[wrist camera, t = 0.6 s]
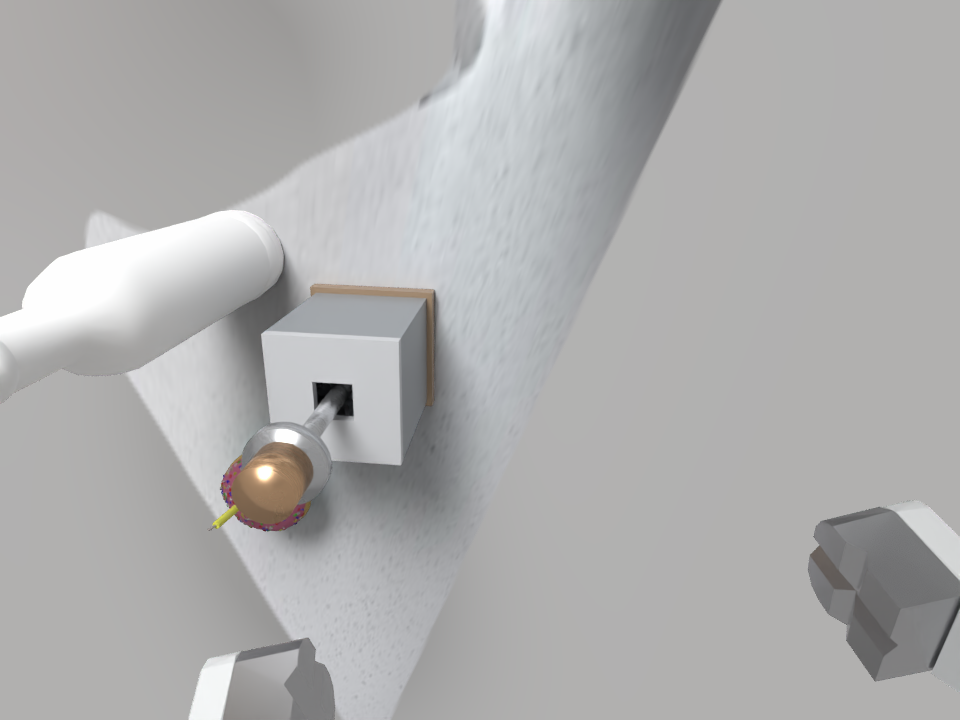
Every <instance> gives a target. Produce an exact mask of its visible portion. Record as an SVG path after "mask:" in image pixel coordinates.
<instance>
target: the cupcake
mask: <svg viewBox="0 0 960 720" xmlns="http://www.w3.org/2000/svg"><path fill="white" fill-rule="evenodd" d="M241 460H242V455H241V456H239V457H238V458H237V459H236V460H235V461H234V462H233V463H232V464H231V465H230V467H229V468H228V470H227V472H226V473H225V475H223V480H222V481H221V482H222V483H221V484H222V485H221V487H222V489H221V487H220V490H223V491H222V492H223V493H222V492H221V493H222V496H223V500H225V503H227V507H229V508H230V509H229V510H228V511H227V512H225V513H224V514H223V515H222V516H221V517H219V518H218V519H217V520H216V521H215V522H214V523H213V526H212V527H211V528H209V529H207V530H208V531H210V530H212V529H213V528H216V529H218V528H219V527H220V526H222V525H223V524H224V523H225V522H226V521H227V520H229V519H230V518H231V517H232V516H233V515H235V516H236V517H237V519H238V520H240V522H243V523H244V525H248V526H249V527H250V526H251V527H250V528H252V527H254V528H257V529H262V530H263V531H281V530H285V529H286V528H288V527H290V526H292V525H294V524H295V523H296V524H297V522H298V521H299V520H300V519H301V518H303V517H304V516H305V515H306V513H307V512H308V510H309V508H310V505H311V501H309V502H307V503H304V504H300V505H296V507H295V509H294V510H293V512H292V513H291V515H290V516H289V517H288V518H287V519H285V520H284V521H282V522H279V523H275V524H262V523H258V522H255V521H253V520H251V519H249V518H247V517H246V516H245V515H243V514H242V513H241V512H240V511H239V510H238V508H237V507H236V505H235V503H234V502H233V499H232V494H231V488H232V483H233V481H234V479H235V478H236V477H237V475H238V474H239V473H240V472H241V471H242V470H243V469H242V461H241Z"/></svg>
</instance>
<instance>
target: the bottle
mask: <svg viewBox="0 0 960 720" xmlns="http://www.w3.org/2000/svg"><path fill="white" fill-rule="evenodd" d="M283 260H284V255H283V251H282V247H281V242H280V240H279V239H278V237H277V235H276V234H275V232H274V230H273V229H272V227H271V226H269V225H268V224H267V223H266V222H265V221H264V220H262V219H261V218H260V217H258V216H256V215H254V214H251V213H249V212H247V211H239V210H228V211H220V212H216V213H213V214H210V215H207V216H204V217H201V218H199V219H195V220H191V221H188V222H184V223H181V224H177V225H173V226H169V227H166V228H162V229H158V230H154V231H151V232H147V233H143V234H140V235H136V236H132V237H129V238H125V239H121V240H117V241H114V242H110V243H106V244H103V245H99V246H95V247H92V248H88V249H84V250H80V251H77V252H74V253H71V254H68V255H65V256H62V257H59V258H57V259H56V260H55V261H54V262H53V263H51V264H50V265H49V266H48V267H47V268H46V269H45V270H44V271H43V272H42V273H41V274H40V275H39V276H38V277H37V278H36V279H35V280H34V281H33V282H32V283H31V284H30V285H29V286H28V288H27V291H26V293H25V296H24V299H23V302H22V310H20V311H17V312H14V313H11V314H8V315H5V316H3V317H0V404H1V403H3V402H4V401H5V400H7V399H8V398H9V397H10V396H11V395H12V394H13V393H15V392H17V391H19V390H21V389H23V388H25V387H27V386H29V385H31V384H33V383H35V382H37V381H38V380H41V379H43V378H45V377H47V376H49V375H50V374H52V373H54V372H56V371H58V370H60V369H64V370H66V371H69V372H71V373H74V374H76V375H85V376H108V375H116V374H122V373H125V372H129V371H132V370H135V369H139V368H141V367H142V366H144V365H145V364H147V363H149V362H150V361H152V360H154V359H155V358H157V357H159V356H160V355H162V354H164V353H165V352H167V351H169V350H170V349H172V348H174V347H175V346H177V345H178V344H180V343H182V342H183V341H185V340H187V339H188V338H190V337H192V336H193V335H195V334H197V333H198V332H200V331H202V330H203V329H205V328H206V327H208V326H210V325H211V324H213V323H215V322H216V321H218V320H220V319H221V318H223V317H225V316H226V315H228V314H230V313H231V312H233V311H235V310H236V309H238V308H239V307H241V306H243V305H244V304H246V303H248V302H250V301H253V300H255V299H257V298H258V297H260V296H261V295H262V294H263V293H264V292H266V291H267V290H268V289H269V288H271V287H272V286H273V285H274V284H275V283H276V282H277V280H278V278H279V276H280V274H281V273H282V270H283Z"/></svg>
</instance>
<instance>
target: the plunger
mask: <svg viewBox="0 0 960 720" xmlns="http://www.w3.org/2000/svg"><path fill="white" fill-rule="evenodd" d="M316 388H317V402H318V406H317V408H316V409H315V410H314V412H313V413H312V414H311V415H310V417H309V418H308V419H307V420H306V422H305V423H304V424H303V425H300V424H297V423H293V422H275V423H271V424H269V425H266V426H264V427H263V428H261V429H260V430H259V431H258V432H257V433H256V434H255V435H254V436H253V437H252V438H251V439H250V440H249V442H248V443H247V444H246V446H245V448H244V450H243V453H242V460H241V461H242V469H243V470H242V471H241V472H240V473H239V474H238V475H237V477H236V478H235V479H234V481H233V483H232V488H231V494H232V499H233V502H234V503H235V505H236V507H237V508H238V510H239V511H240V512H241V513H242V514H243V515H245V516H246V517H247V518H249V519H251V520H253V521H255V522H258V523H262V524H275V523H279V522H282V521H284V520H285V519H287V518H288V517H289V516H290V515H291V513H292V512H293V510H294V509H295V507H296V505H300V504H304V503H307V502H309V501H311V500H313V499H314V498H315V497H317V496H318V495H319V494H320V492H321V491H322V490H323V488H324V486H325V484H326V483H327V481H328V479H329V477H330V474H331V470H332V460H331V455H330V452H329V450H328V448H327V446H326V444H325V443H324V442H323V440H322V439H321V438H320V437H321V435H322V434H323V433H324V431H325V430H326V428H327V427H328V425H329V424H330V422H331V421H332V420H333V418H334V417H335V415H340V416H354V409H353V390H352V384H337V383H321V382H316Z"/></svg>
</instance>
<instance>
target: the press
mask: <svg viewBox="0 0 960 720" xmlns="http://www.w3.org/2000/svg"><path fill="white" fill-rule="evenodd" d="M310 290H311V297H310V298H308V299H307V300H306V301H304V302H303V303H302V304H300V305H299V306H298V307H296V308H295V309H294V310H292V311H291V312H290V313H288V314H287V315H286V316H284V317H283V318H282V319H280V320H279V321H278V322H276V323H275V324H274V325H272V326H271V327H270V328H268V329H267V330H266V331H264V332H263V333H262V334H261V339H262V349H263V358H264V368H265V377H266V387H267V396H268V406H269V415H270V424H271V423H275V422H293V423H297V424H300V425H303V424H304V423H305V422H306V420H307V419H308V418H309V417H310V415H311V414H312V413H313V412H314V410H315V409H316V408H317V406H318V402H317V388H316V382H321V383H337V384H352V390H353V409H354V416H340V415H335V417H334V418H333V420H332V421H331V422H330V424H329V425H328V427H327V428H326V430H325V431H324V433H323V434H322V435H321V437H320V438H321V439H322V440H323V442H324V443H325V444H326V446H327V448H328V450H329V452H330V455H331V460H332V461H345V462H360V463H374V464H388V465H402V462H403V460H404V457H405V455H406V452H407V450H408V447H409V445H410V442H411V440H412V437H413V435H414V432H415V430H416V427H417V425H418V422H419V420H420V417H421V415H422V412H423V410H424V407H425V406H433V403H434V290H431V289H411V288H390V287H370V286H349V285H329V284H314V285H312V286H311V287H310Z"/></svg>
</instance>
